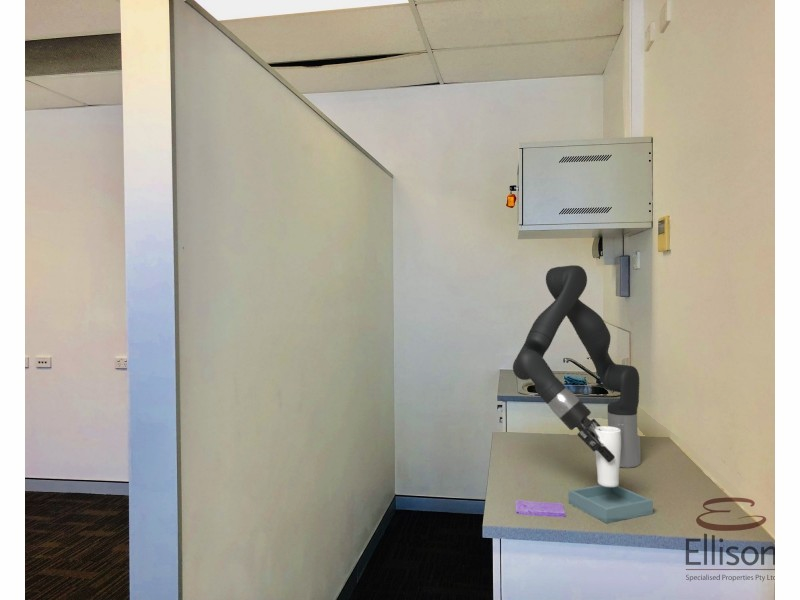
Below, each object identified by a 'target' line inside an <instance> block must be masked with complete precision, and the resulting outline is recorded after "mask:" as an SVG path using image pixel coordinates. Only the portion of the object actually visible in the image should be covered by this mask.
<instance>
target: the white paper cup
mask: <svg viewBox="0 0 800 600" xmlns="http://www.w3.org/2000/svg"><path fill="white" fill-rule="evenodd" d="M599 429H600V430H601V431H599ZM595 431H596V432H597V434H598V435H599V437H600V440H601V442H602V443H603V444H604V446H605V447H606V448H607V449H608V450H609V451H610V452H611V453H612V454H613V455H614V456H615V458H614V459H613V460H612V461H610V462H608V461H607V460H606V459H605V458H604V457H603V456H602V455H601V454H600V453H599V452H597V451H594V455H595V465H596V474H597V480H596V481H597V483H598V484H597V485H601V486H604V487H617V486H620V485H619V484H620V479H619V477H620V468H621V467H620V455H621V430H620V429H619V428H616V427H609V426H608V425H607V426H606V425H603V426H601V425H600V426H599V427H596V429H595ZM595 444H596V443H595Z"/></svg>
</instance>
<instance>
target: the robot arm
mask: <svg viewBox="0 0 800 600" xmlns="http://www.w3.org/2000/svg"><path fill="white" fill-rule="evenodd" d="M545 284H546V287H547V289H548V292H549V293H550V294H551V296H552V297H553V299H554V301H553V302H552V303H551V304H550V305H549V306H547V307H546V308H545V309H544V310H543V311H542V312H541V313H540V314H539V315H538V316H537V317H536V319H535V320H534V322H533V323H532V325H531V327H530V330H529V332H528V334H527V336H526V339H525V341H524V343H523V345H522V347H521V349H520V351H519V352H518V354H517V356H516V358H515V359H514V361H513V364H512V371H513V373H514V375H515V377H517V378H518V379H520V380H523V381H526V380H527V381H528V380H531V382H532V383H533V384H534V387H535V391H536V393H537V394H538V396H539V397H540V398H541V399H542V401H544V402H545V403H546V405H547V406H549V408H550V410H551V411H552V413H554V414H555V416H557V418H558V419H559V420H560V421H561V422H562V423H563V424H564V425H565V426H566V427H567V428H568V429H569V431H570V430H571V431H573V430H574V429H575V428H577V430H578V431H579V432H577V436H578V437H579V438H580V439H581V440H582V441H583V442H584V443H585V444H586V445H587V446H588V447H589V448H590V449H591V450H592V452H595V451H597V452H599V453H600V454H601V455H602V456H603V457H604V458H605V459H606V460H607V461H608V462H610V461H612V460H613V459H614V458H615V456H614V455H613V454H612V453H611V452H610V451H609V450H608V449H607V448H606V447H605V446H604V444H603V443H602V442H601V440H600V437H599V435H598V434H597V432H596V431H595V429H596V427H599V426H601V424H600V423H599V422H598V421H597V420H596V419H595V418H593V419H592V418H591V419H590V418H588V417H589V416H590V415H591V413H592V411H591V410H590V409H589V408H588V407H587V406H586V405H585V403H583V401H581V400H580V399H579V398H578V397H577V396H576V395H575V393H574V392H572V391H571V390H569V389H568V388H567V387H566V386H565V384H564V383H563V382H562V381H560V379H559V378H558V377H556V375H555V374H554V372H553V370H552V369H551V367H550V366H549V364H548V363H547V362H546V360H545V359H544V356H545V354H546V352H547V351H548V350H549V349H550V348H549V347H551V344H552V343H553V340H554V338H555V336H556V333H557V331H559V328H560V326H561V324H562V322H563V321H564V320H565V318H566V317H567V319H568V321H569V322H570V324H571V325H572V327H573V329H574V331H575V332H576V335H577V336H578V339H579V340H580V341H581V344H582V345H583V346H584V348H585V350H586V352H587V354H588V355H589V358H590V359H591V361H592V364H593V365H594V367H595V370H596V373H597V375H598V378H599V380H600V381H601V384H602V386H603V387H604V388H605V389H606V390H607V391H611V392H614V393H615V392H617V393H620V394H619V399H618V400H615V401H610V402H608V404H607V426H609V427H616V428H619V429H620V430H621V455H620V467H619V468H629V469H630V468H636V467H637V466H639V465H641V436H640V435H639V434H638V432H639V431H638V406H639V401H640V375H639V371H638V369H637V368H636V367H635V366H632V365H627V364H616V363H615V362H614V361H613V359H612V358H611V356H610V354H609V347H610V345H611V336H612V335H611V333H610V330H609V328H608V326H607V324H606V323H605V320H604V319H603V318H602V317H601V315H600V314H599V313H597V312H596V311H595V310H593V308H591V307H590V306H588V305H587V304H585V303H584V302H583V301H582V300H580V299H579V298H580V297H581V296H582V294H583V292H584V291H585V289H586V287H587V284H588V275H587V272H586V270H585V268H583V267H582V266H581V265H564V266H556V267H551V268H550V269H548V271H547V272H546V275H545ZM599 431H601V430H600V429H599ZM595 443H596V444H595Z"/></svg>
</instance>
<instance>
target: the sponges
mask: <svg viewBox="0 0 800 600" xmlns="http://www.w3.org/2000/svg"><path fill="white" fill-rule="evenodd" d="M515 514H516V515H517V514H523V515H522V516H532V515H535V516H534V517H538V516H539V517H551V518H552V517H553V518H565V517H566V512H565V509H564V506H563V503H562V502H551V501H550V502H543V501H531V500H520V499H516V500H515Z"/></svg>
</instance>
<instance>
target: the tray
mask: <svg viewBox="0 0 800 600" xmlns="http://www.w3.org/2000/svg"><path fill="white" fill-rule="evenodd" d="M567 495H568V496H567V497H568V504H570V505H571V506H572V507H575V508H577V509H578V510H581V511H583V512H584V513H586V514H588V515H590V516H591V517H593V518H596V519H597V520H599V521H601V522H603V523H605V524H612V523H616V522H620V521H625V520H629V519H630V520H631V519H634V518H640V517H645V516H648V515H649V516H651V515H653V514H654V504H653V503H654V500H652V499H650V498H648V497H645V496H643V495H641V494H638V493H636V492H634V491H632V490H629V489H627V488H625V487H623V486H621V485H618V486H617V487H604V486H601V485H599V484H597V485H593V486H592V485H591V486H587V487H586V486H585V487H581V488H575V489H570V490H568V493H567Z"/></svg>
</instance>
